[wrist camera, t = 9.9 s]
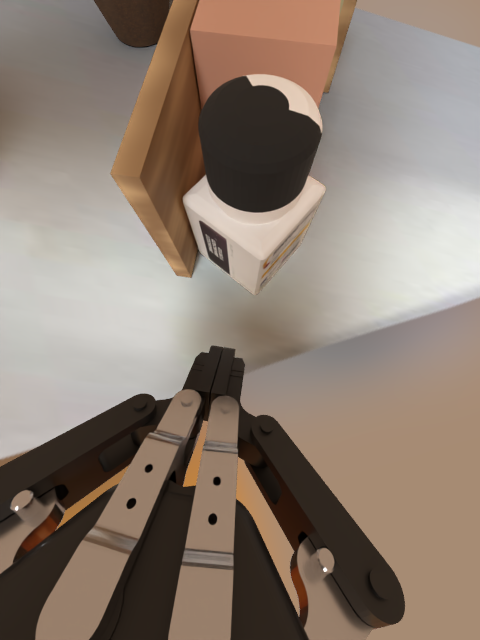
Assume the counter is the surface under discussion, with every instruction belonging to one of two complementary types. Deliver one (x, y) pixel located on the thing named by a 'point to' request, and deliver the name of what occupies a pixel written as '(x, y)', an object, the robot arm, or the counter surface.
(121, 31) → the plant pot
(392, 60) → the counter surface
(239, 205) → the container
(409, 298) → the counter surface
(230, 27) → the book
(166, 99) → the wooden book rack
